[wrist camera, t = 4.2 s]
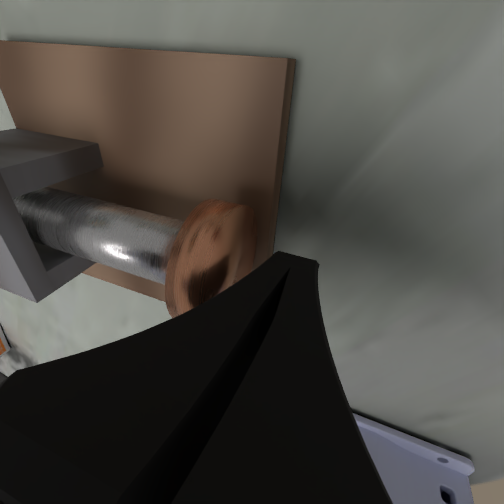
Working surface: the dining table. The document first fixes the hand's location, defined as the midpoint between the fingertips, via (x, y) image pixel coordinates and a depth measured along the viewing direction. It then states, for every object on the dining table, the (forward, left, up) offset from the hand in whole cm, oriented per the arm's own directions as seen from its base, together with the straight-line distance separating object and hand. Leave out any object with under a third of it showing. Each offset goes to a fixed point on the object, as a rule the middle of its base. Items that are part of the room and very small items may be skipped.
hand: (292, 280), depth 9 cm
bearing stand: (+8, 0, -3) cm, 9 cm away
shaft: (+7, 0, -2) cm, 7 cm away
